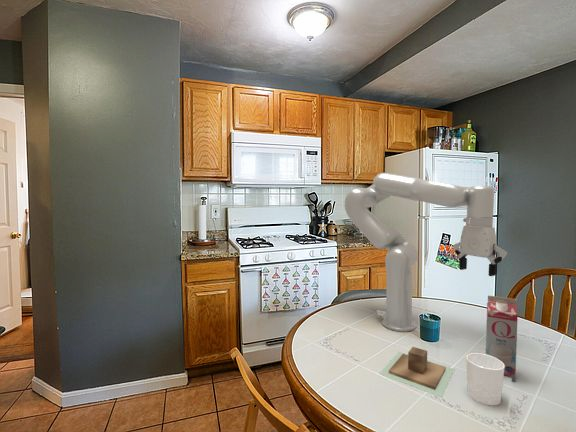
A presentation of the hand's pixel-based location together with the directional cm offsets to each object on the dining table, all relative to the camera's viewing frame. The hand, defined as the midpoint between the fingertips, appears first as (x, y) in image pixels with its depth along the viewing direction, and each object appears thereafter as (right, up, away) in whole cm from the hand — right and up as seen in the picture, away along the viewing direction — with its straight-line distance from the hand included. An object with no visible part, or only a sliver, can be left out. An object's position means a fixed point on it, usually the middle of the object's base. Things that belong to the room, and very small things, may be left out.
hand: (477, 272), depth 103 cm
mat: (-28, -26, -18) cm, 42 cm away
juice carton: (-4, -26, -17) cm, 31 cm away
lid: (-28, -25, -18) cm, 41 cm away
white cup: (-16, -27, -28) cm, 42 cm away
